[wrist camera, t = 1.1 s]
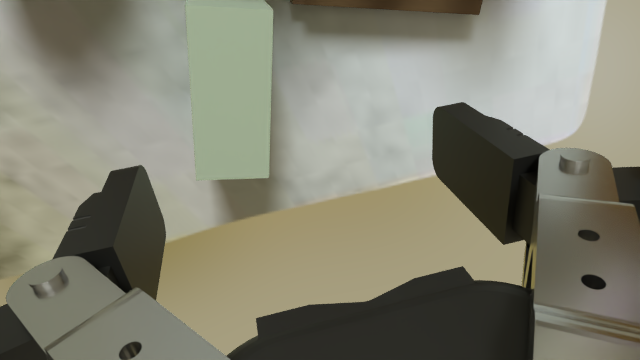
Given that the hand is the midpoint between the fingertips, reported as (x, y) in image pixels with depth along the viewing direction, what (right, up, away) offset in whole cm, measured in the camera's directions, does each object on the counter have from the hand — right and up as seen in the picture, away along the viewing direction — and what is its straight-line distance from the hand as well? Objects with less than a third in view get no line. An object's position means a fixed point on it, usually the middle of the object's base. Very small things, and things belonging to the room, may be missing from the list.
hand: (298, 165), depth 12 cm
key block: (-6, +8, +18) cm, 20 cm away
